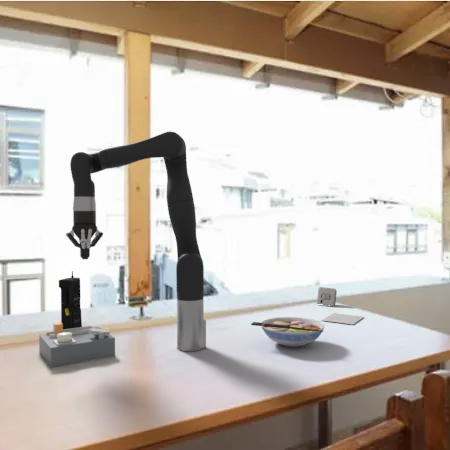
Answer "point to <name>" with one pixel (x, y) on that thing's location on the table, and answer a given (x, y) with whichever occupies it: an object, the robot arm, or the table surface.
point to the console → (76, 347)
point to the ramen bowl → (291, 330)
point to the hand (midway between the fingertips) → (85, 259)
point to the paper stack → (343, 318)
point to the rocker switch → (98, 331)
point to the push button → (64, 337)
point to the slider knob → (57, 328)
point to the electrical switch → (326, 296)
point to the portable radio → (70, 302)
